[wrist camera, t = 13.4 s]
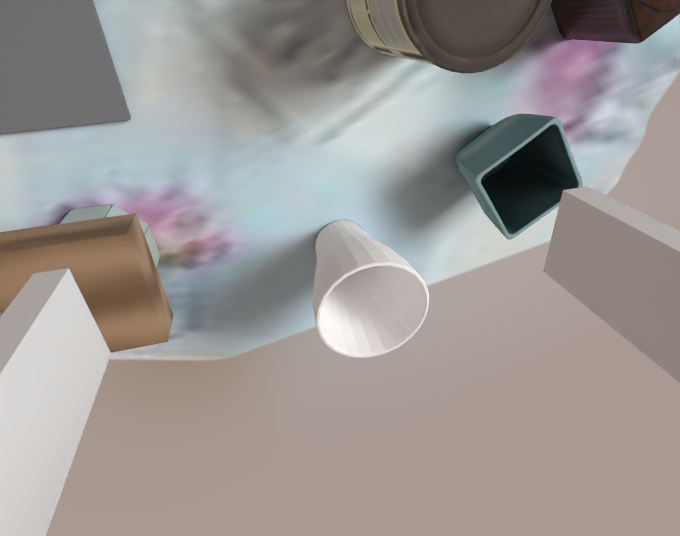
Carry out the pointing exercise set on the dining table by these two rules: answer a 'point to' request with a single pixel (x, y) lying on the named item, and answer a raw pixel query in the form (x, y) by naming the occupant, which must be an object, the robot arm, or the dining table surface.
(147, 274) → the board
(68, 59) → the mat
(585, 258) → the robot arm
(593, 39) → the coffee grinder
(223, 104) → the dining table surface
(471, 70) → the coffee can
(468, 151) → the flower pot
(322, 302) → the cup
